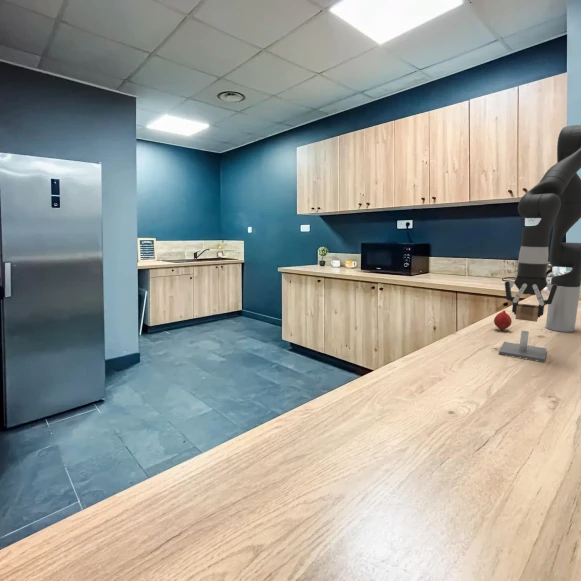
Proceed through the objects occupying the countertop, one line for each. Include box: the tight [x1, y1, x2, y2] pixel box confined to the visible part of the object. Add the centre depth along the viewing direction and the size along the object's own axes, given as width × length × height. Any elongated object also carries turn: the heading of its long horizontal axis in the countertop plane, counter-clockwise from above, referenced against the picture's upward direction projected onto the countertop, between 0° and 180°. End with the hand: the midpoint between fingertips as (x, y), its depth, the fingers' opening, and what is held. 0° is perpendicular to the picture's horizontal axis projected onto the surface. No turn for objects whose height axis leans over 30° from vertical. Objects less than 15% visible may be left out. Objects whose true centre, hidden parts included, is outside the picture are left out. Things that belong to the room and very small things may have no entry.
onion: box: [493, 309, 512, 331], centre depth 145 cm, size 6×6×8 cm
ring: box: [515, 303, 539, 322], centre depth 118 cm, size 6×6×4 cm
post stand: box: [498, 330, 547, 363], centre depth 120 cm, size 12×12×7 cm
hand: (526, 315), depth 118 cm, fingers closed on ring, 5 cm apart
